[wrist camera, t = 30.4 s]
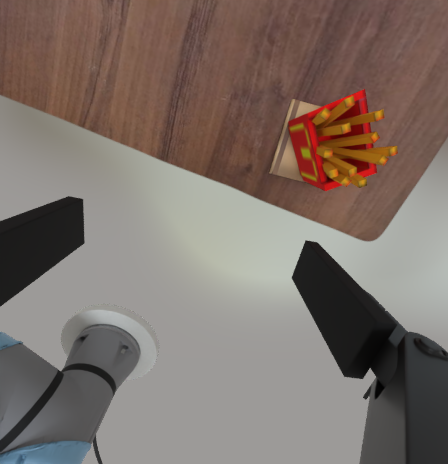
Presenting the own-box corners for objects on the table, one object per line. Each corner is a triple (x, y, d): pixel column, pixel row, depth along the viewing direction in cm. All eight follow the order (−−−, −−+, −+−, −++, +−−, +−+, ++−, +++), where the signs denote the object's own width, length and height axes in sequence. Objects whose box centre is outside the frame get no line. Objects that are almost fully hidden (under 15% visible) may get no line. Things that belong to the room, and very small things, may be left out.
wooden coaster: (330, 188, 38) (332, 189, 37) (268, 172, 37) (269, 173, 37) (359, 118, 34) (362, 118, 33) (291, 99, 34) (292, 98, 33)
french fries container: (297, 180, 37) (333, 199, 24) (282, 123, 34) (314, 109, 21) (340, 164, 36) (403, 175, 23) (328, 104, 33) (393, 77, 20)
